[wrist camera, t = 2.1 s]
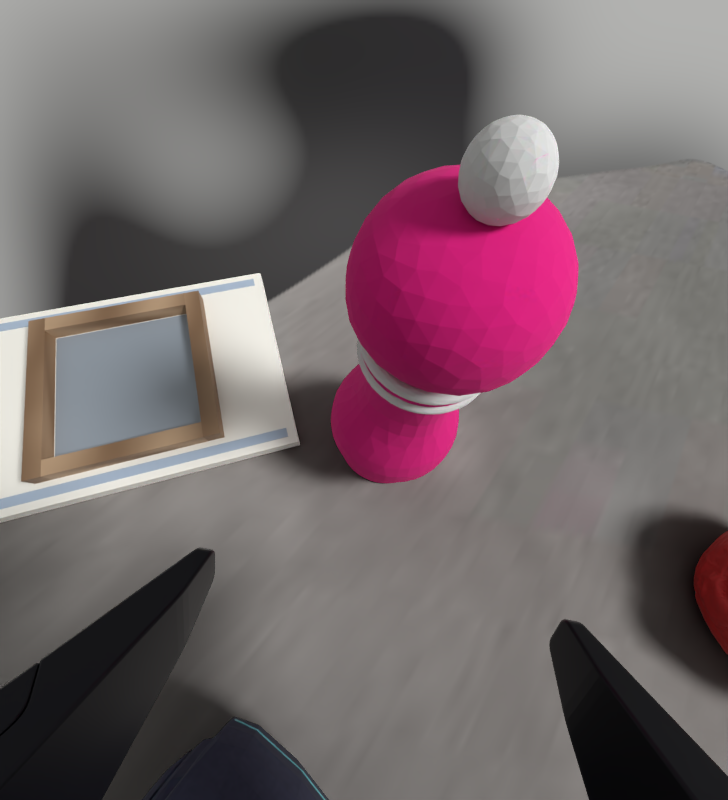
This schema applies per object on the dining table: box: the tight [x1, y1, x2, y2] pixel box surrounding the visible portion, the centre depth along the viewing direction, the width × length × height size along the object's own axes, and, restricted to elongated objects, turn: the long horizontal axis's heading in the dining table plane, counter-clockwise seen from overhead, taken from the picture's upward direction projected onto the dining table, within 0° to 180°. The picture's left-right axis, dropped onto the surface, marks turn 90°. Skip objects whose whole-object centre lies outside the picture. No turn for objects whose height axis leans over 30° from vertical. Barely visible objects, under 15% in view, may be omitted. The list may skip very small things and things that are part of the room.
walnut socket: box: [21, 291, 225, 484], centre depth 23 cm, size 11×11×1 cm
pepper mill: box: [331, 115, 578, 483], centre depth 15 cm, size 7×7×20 cm
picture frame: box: [0, 273, 300, 523], centre depth 24 cm, size 20×14×1 cm
